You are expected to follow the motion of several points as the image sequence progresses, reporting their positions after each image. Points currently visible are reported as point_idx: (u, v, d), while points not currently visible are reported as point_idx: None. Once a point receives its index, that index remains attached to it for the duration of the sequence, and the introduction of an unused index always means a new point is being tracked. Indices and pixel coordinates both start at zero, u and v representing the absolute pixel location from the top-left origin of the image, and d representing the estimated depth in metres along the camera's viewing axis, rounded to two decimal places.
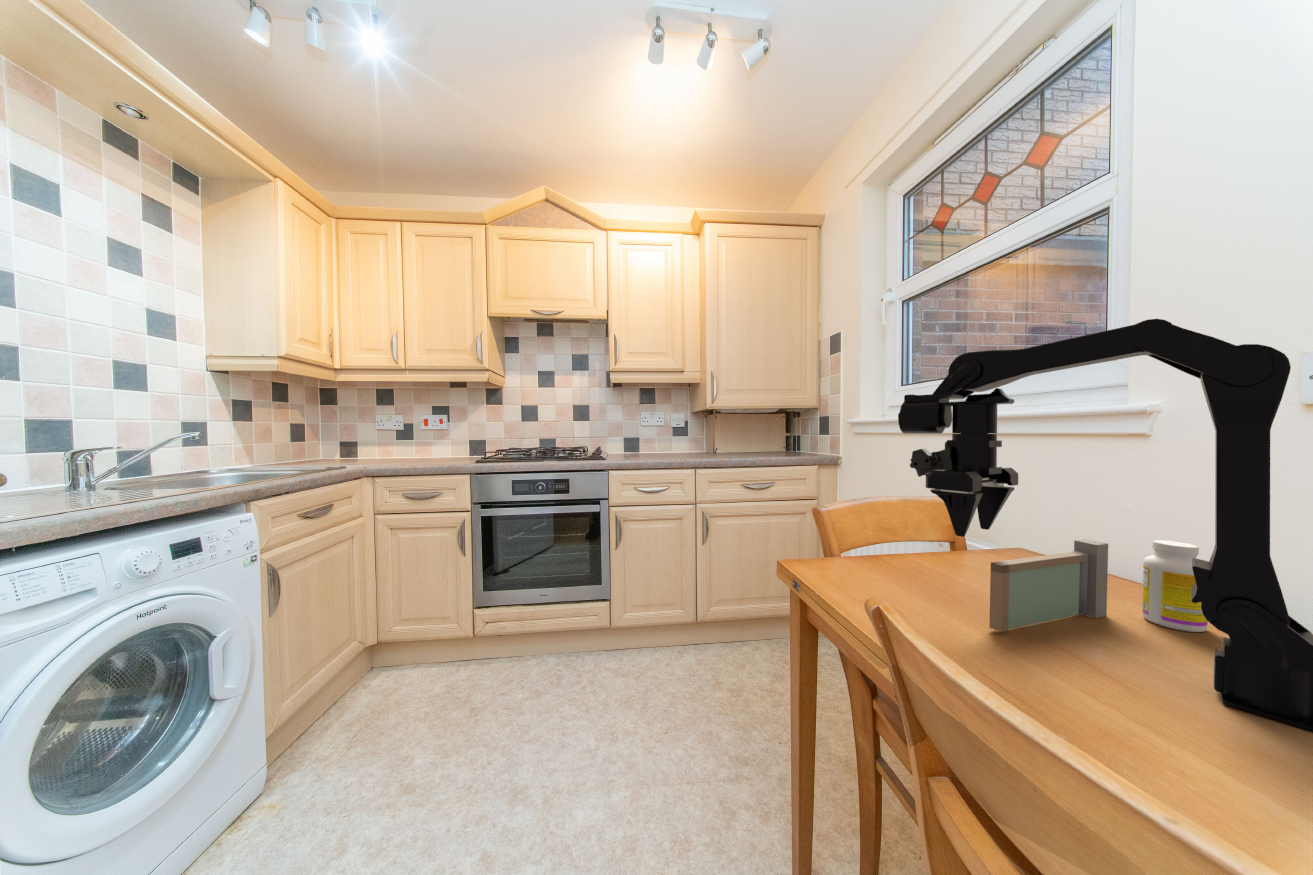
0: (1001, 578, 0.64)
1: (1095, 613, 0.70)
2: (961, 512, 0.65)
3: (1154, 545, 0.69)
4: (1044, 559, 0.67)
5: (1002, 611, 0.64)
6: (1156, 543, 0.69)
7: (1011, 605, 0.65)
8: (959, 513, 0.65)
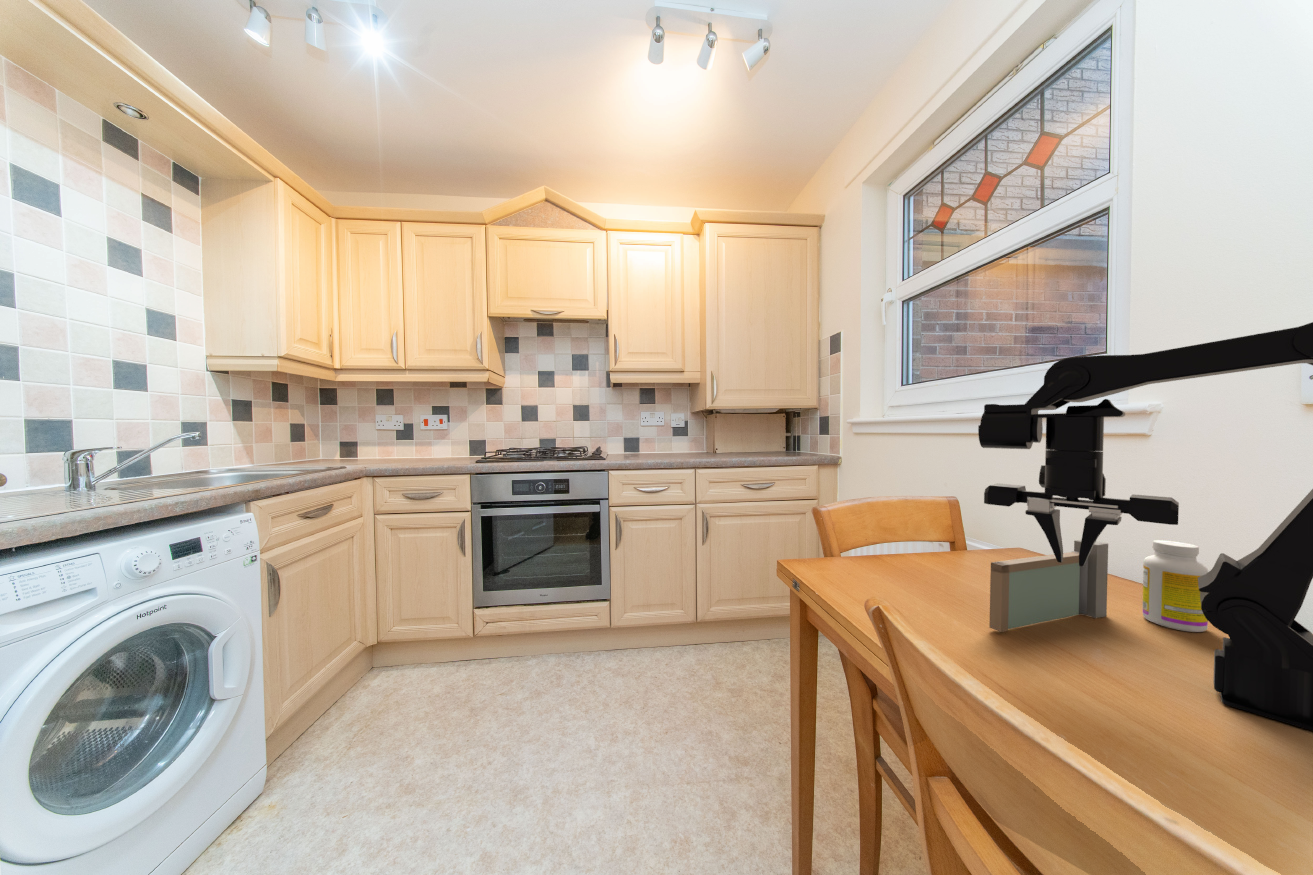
0: (1001, 578, 0.64)
1: (1095, 613, 0.70)
2: None
3: (1154, 545, 0.69)
4: (1044, 559, 0.67)
5: (1002, 611, 0.64)
6: (1156, 543, 0.69)
7: (1011, 605, 0.65)
8: None
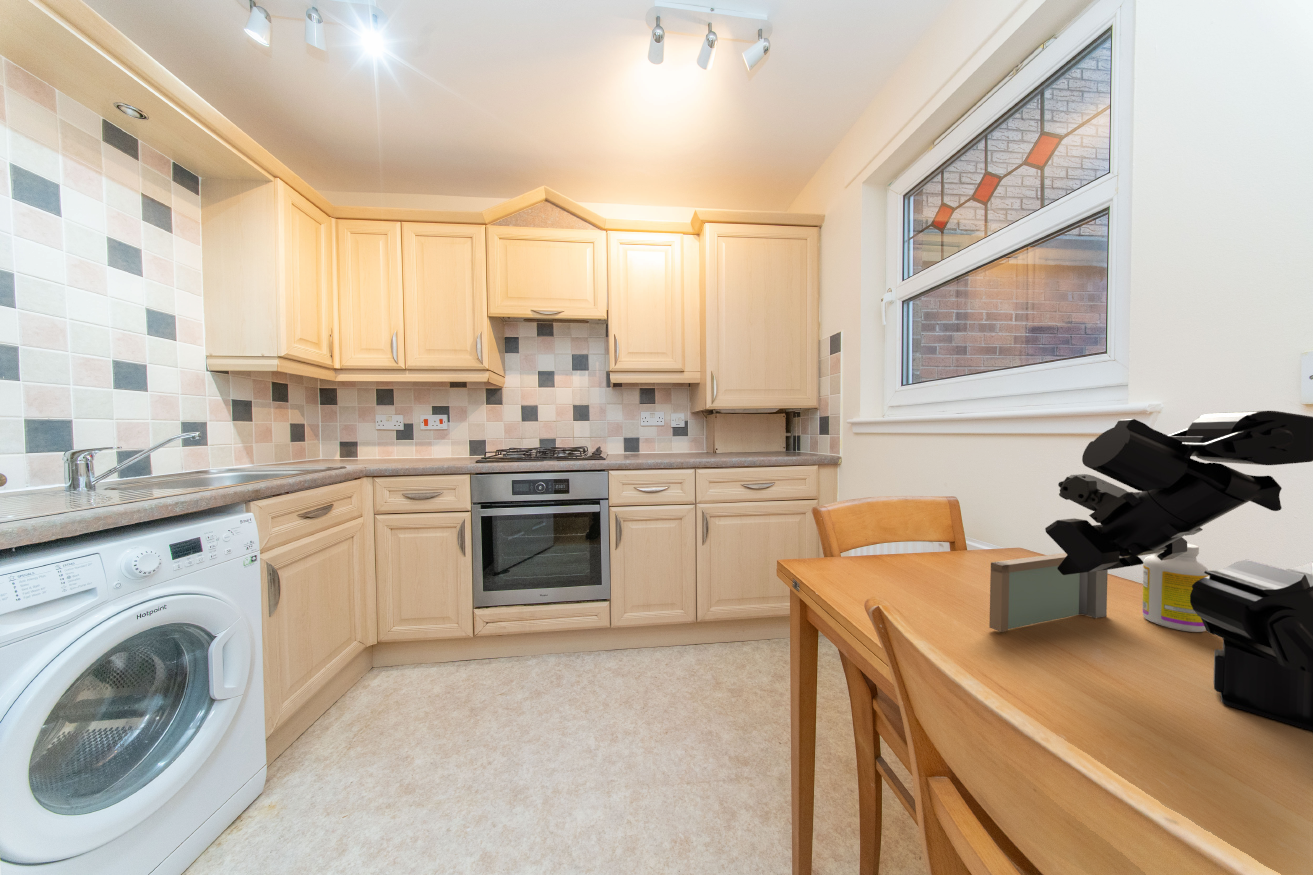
0: (1001, 578, 0.64)
1: (1095, 613, 0.70)
2: None
3: None
4: (1044, 559, 0.67)
5: (1002, 611, 0.64)
6: None
7: (1011, 605, 0.65)
8: None
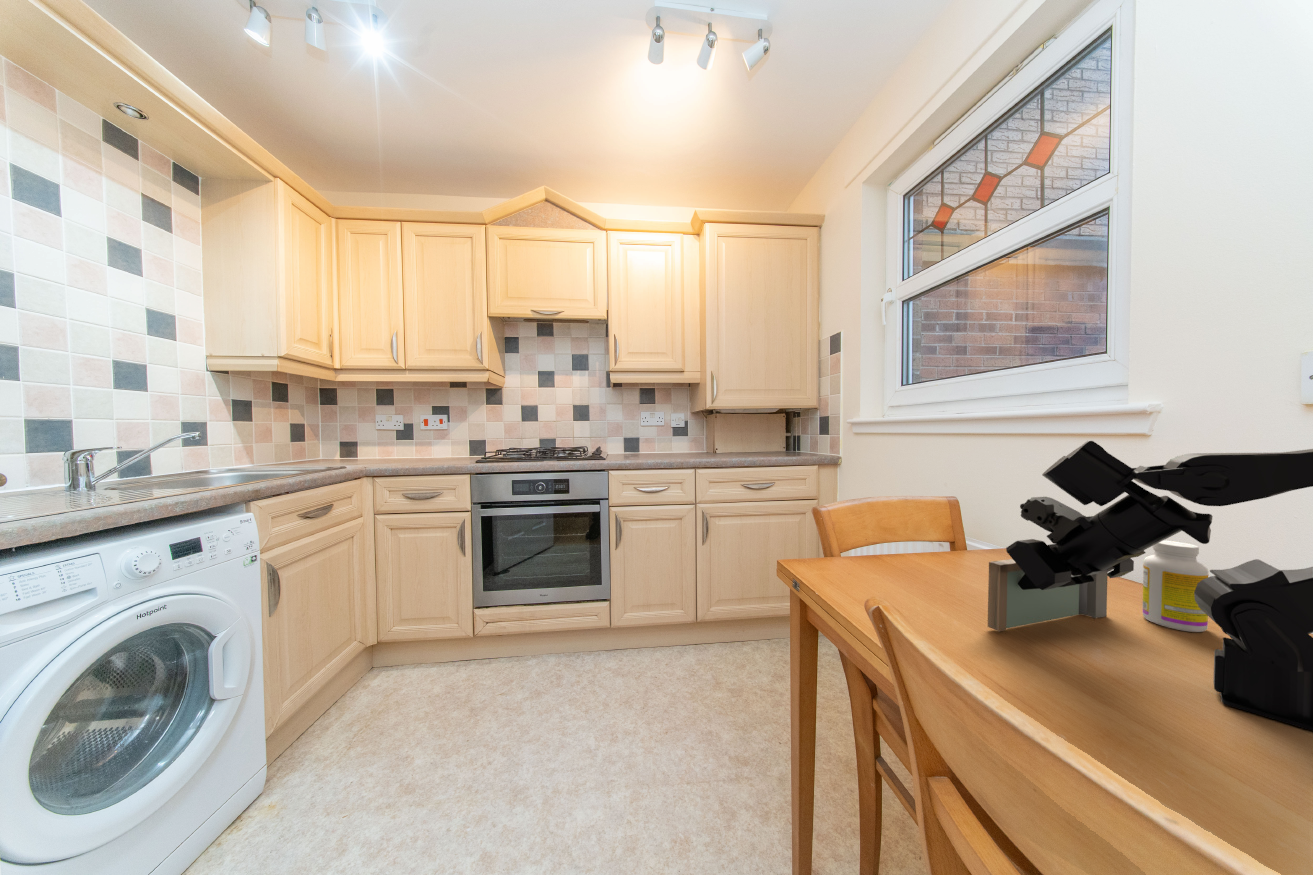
0: (999, 577, 0.64)
1: (1095, 613, 0.70)
2: None
3: (1154, 545, 0.69)
4: None
5: (1000, 610, 0.64)
6: None
7: (1009, 604, 0.65)
8: None
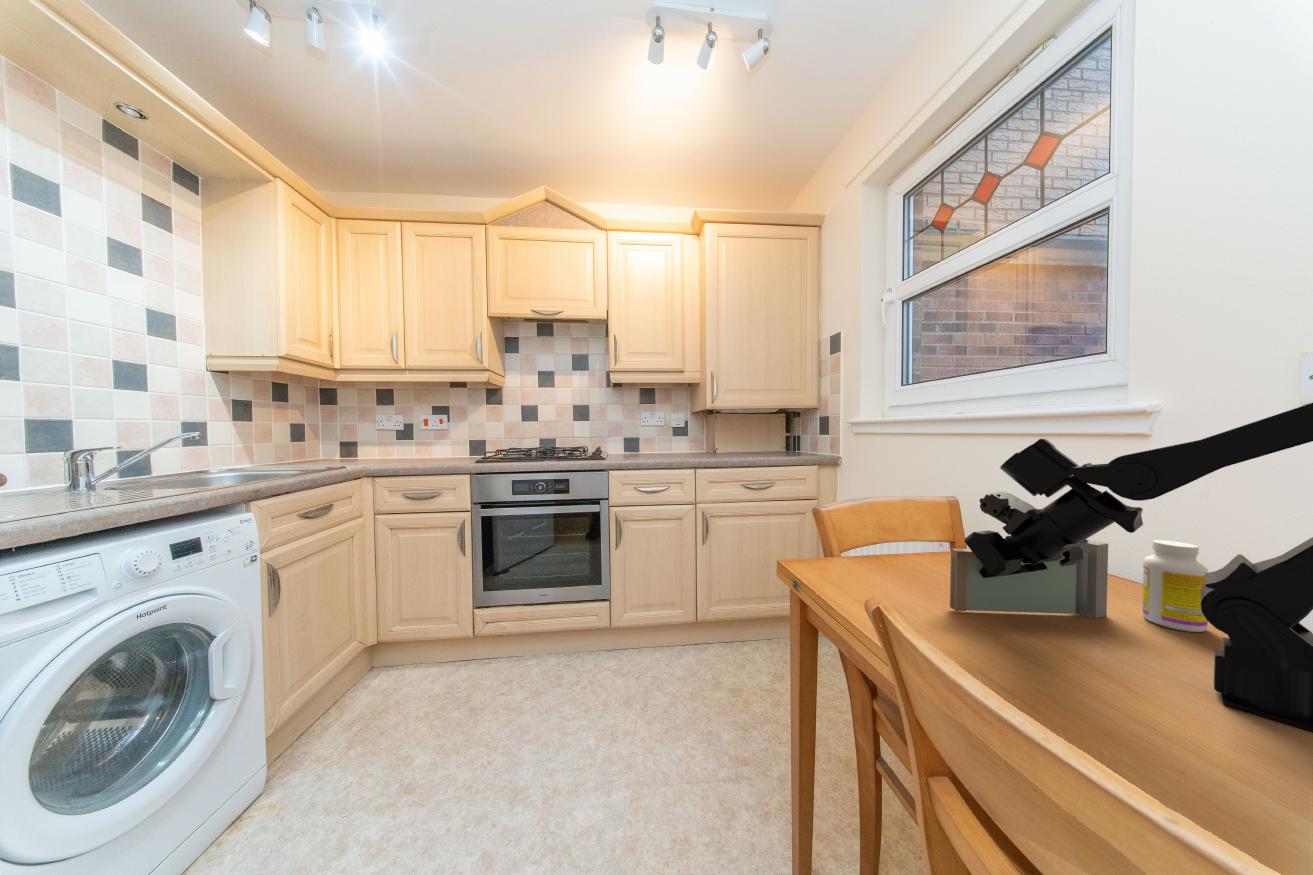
0: (956, 562, 0.71)
1: (1095, 613, 0.70)
2: None
3: (1154, 545, 0.69)
4: None
5: (957, 592, 0.71)
6: (1156, 543, 0.69)
7: (972, 589, 0.72)
8: None
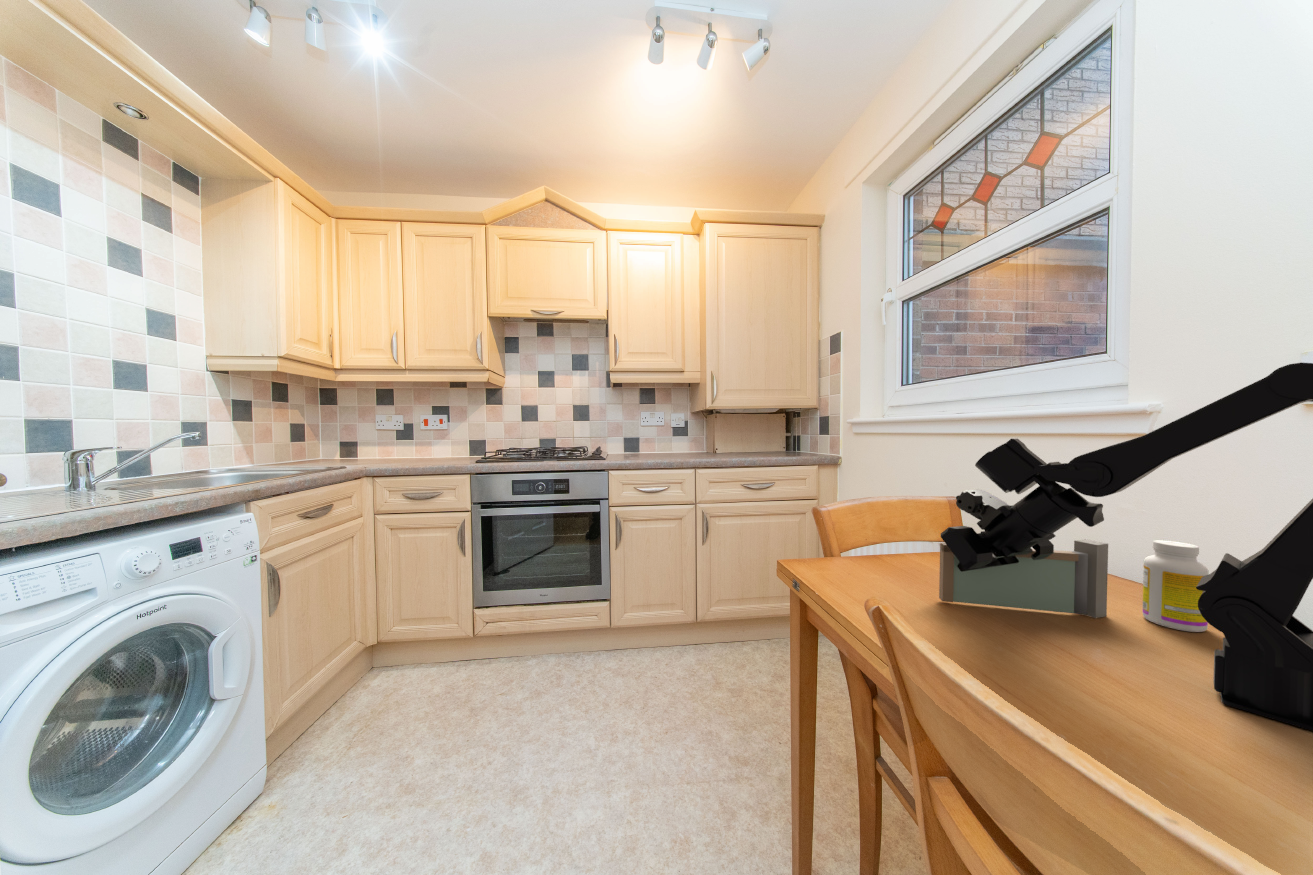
0: (943, 555, 0.75)
1: (1095, 613, 0.70)
2: None
3: (1154, 545, 0.69)
4: None
5: (944, 584, 0.75)
6: (1156, 543, 0.69)
7: (960, 582, 0.75)
8: None
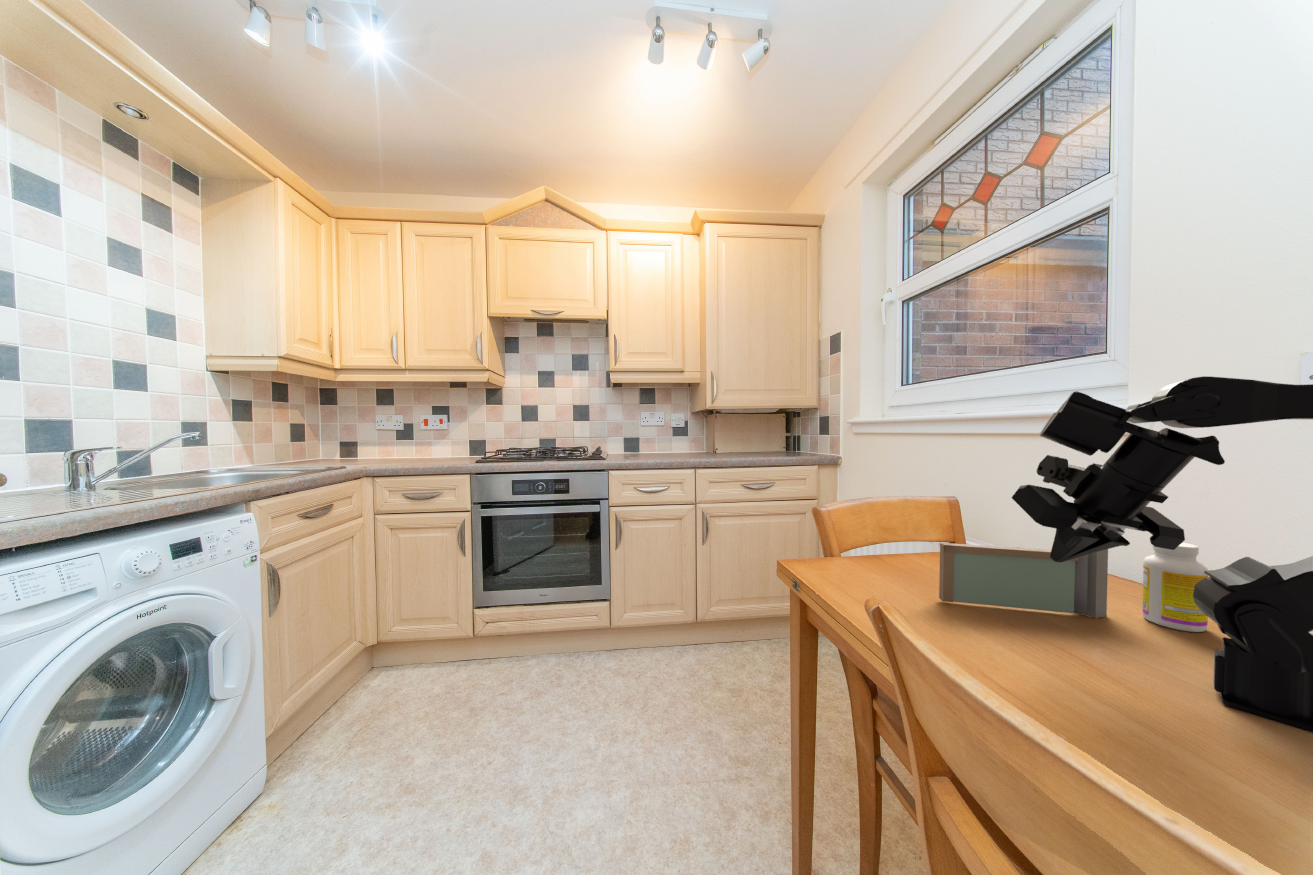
0: (943, 555, 0.75)
1: (1095, 613, 0.70)
2: (1065, 541, 0.59)
3: None
4: (1010, 549, 0.73)
5: (944, 584, 0.75)
6: None
7: (960, 582, 0.75)
8: (1063, 541, 0.60)
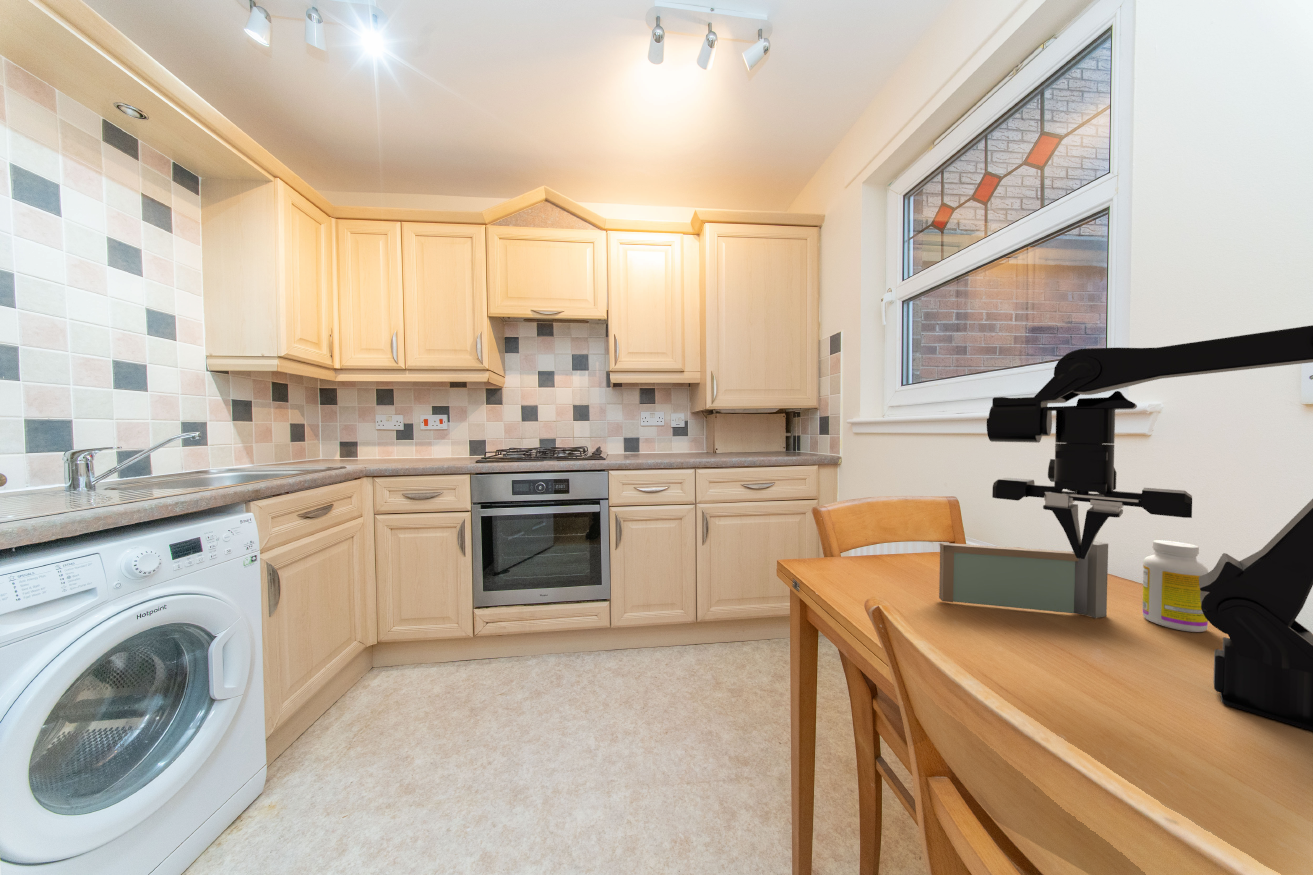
0: (943, 555, 0.75)
1: (1095, 613, 0.70)
2: None
3: (1154, 545, 0.69)
4: (1010, 549, 0.73)
5: (944, 584, 0.75)
6: (1156, 543, 0.69)
7: (960, 582, 0.75)
8: None
